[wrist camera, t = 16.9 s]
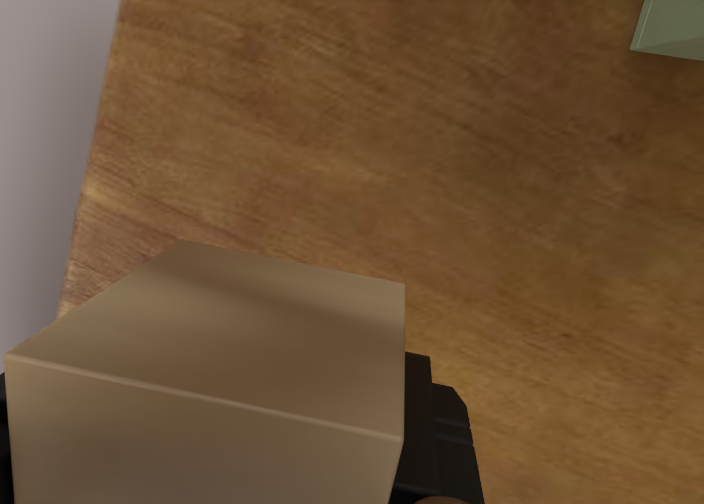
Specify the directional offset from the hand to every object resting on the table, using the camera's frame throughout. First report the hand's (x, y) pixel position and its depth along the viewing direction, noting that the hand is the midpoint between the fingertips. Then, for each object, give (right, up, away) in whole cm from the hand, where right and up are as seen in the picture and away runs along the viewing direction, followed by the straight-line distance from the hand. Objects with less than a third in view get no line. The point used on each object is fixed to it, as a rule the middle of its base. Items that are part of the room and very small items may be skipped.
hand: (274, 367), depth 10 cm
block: (0, 0, 0) cm, 0 cm away
